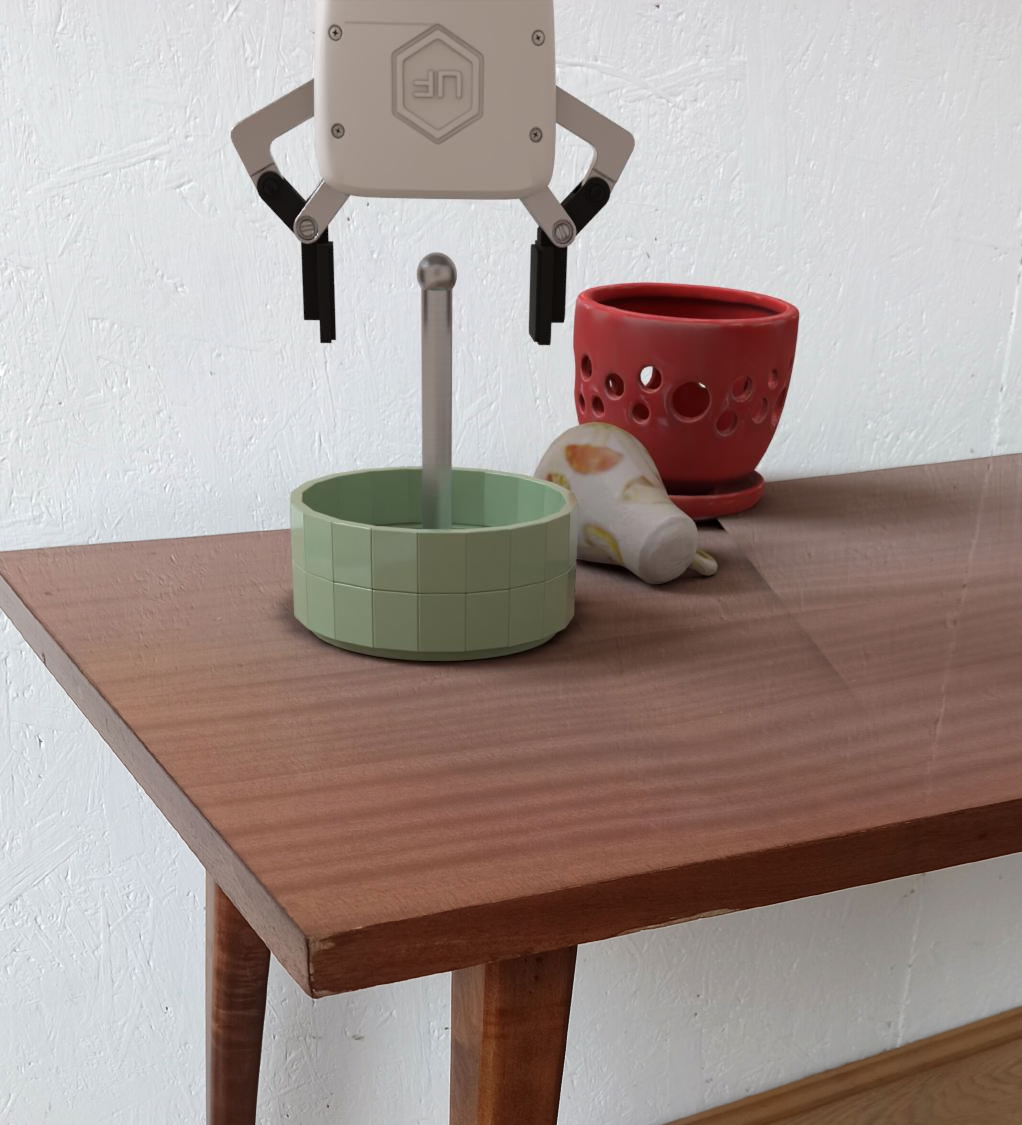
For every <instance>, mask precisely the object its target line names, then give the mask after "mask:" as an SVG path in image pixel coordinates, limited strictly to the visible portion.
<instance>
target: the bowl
mask: <svg viewBox="0 0 1022 1125" xmlns="http://www.w3.org/2000/svg"><path fill="white" fill-rule="evenodd" d="M578 510H579V503H578V501H577V499H576V497H575V495H574V493H573V492H571V491H569V490H567V489H565V488H563V487H562V486H560V485H558V484H556V483H553V482H550V481H546V480H542V479H539V478H535V477H533V476H531V475H527V474H522V473H515V472H510V471H509V472H508V471H502V470H495V469H488V468H478V467H476V468H475V467H463V466H462V467H461V466H452V507H451V529H422V465H410V466H409V465H406V466H405V465H403V466H390V467H375V468H374V467H373V468H363V469H356V470H349V471H343V472H337V473H332V474H327V475H324V476H321V477H317V478H313V479H311V480H307V481H305V482H303V483H302V484H300V485H299V486H297V487H296V488H294V489H293V490H291V491H290V493H289V523H290V544H291V547H290V548H291V570H292V593H293V595H292V596H293V613H294V614H293V616H294V618H295V619H296V620H298V622H300V623H301V625H302V626H304V627H305V628H306V629H307V630H309V631H311V633H313V634H314V635H315V636H316V637H317V638H319V639H320V640H322V641H323V642H325V643H328V644H330V645H332V646H334V647H337V648H340V649H343V650H347V651H350V652H354V653H358V654H361V655H367V656H372V657H379V658H386V659H392V660H393V659H394V660H403V661H404V660H405V661H416V662H417V661H420V662H452V661H453V662H456V661H457V662H461V661H475V660H483V659H490V658H498V657H503V656H509V655H513V654H518V653H522V652H525V651H528V650H531V649H534V648H536V647H539V646H541V645H543V644H545V643H547V642H548V641H550V640H551V639H552V638H554V637H555V636H556V635H557V634H558V633H559V632H561V631H563V630H565V629H566V628H567V627H568V625H569V624H570V623H571V621H572V619H574V616H575V607H576V606H575V601H576V580H577V579H576V578H577V559H578V558H577V534H578Z"/></svg>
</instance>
